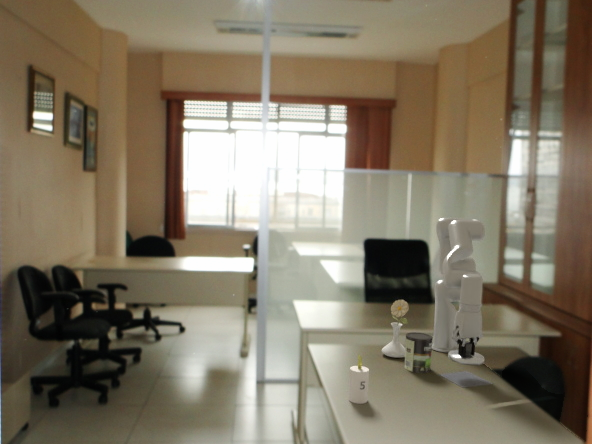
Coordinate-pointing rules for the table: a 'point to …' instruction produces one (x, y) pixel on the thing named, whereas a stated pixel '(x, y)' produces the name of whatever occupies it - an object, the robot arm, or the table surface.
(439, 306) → the robot arm
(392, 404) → the table surface
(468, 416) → the table surface
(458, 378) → the mat
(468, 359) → the lid
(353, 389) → the candle
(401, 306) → the flower in vase
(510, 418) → the table surface
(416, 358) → the coffee can
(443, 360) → the table surface
